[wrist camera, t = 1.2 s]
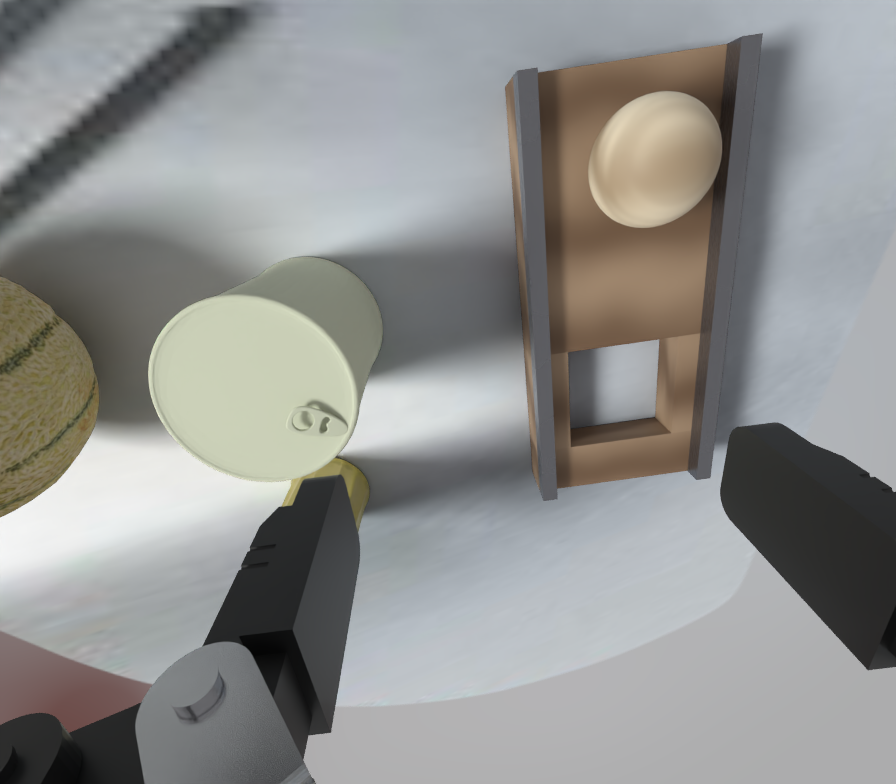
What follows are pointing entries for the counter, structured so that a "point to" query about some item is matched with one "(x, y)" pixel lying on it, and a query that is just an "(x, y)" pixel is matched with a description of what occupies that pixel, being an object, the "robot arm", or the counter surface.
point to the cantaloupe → (40, 396)
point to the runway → (624, 263)
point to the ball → (655, 159)
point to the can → (269, 370)
